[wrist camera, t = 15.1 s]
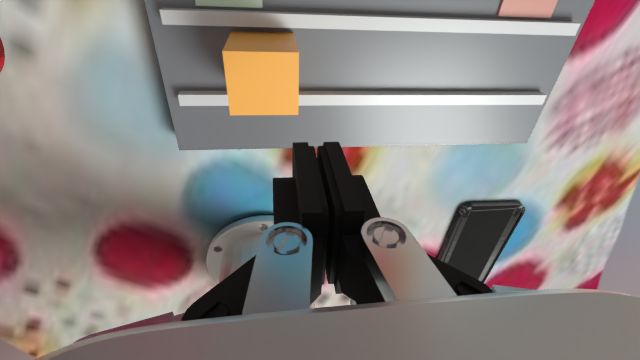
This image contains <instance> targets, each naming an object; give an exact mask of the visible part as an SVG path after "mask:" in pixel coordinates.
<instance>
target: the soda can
mask: <svg viewBox="0 0 640 360" xmlns="http://www.w3.org/2000/svg"><path fill="white" fill-rule="evenodd" d="M4 60H5V54H4V47H3V44H2V40H1V38H0V72H1V71H2V68H3V65H4Z"/></svg>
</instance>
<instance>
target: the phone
mask: <svg viewBox="0 0 640 360" xmlns="http://www.w3.org/2000/svg"><path fill="white" fill-rule="evenodd" d="M524 212H525V207H524V206H523V205H522V204H521V203H520V202H519V201H483V202H467V203H464V204H462V205H461V206H460V207H459V208H458V210H457V212H456V214H455V217H454V219H453V222H452V224H451V226H450V229H449V231H448V234H447V236H446V238H445V241H444V243H443V246H442V248H441V251H440V253H439V255H438V258H437V259H438V260H440V261H442V262H444V263H446V264H448V265H450V266H452V267H454V268H456V269H458V270H460V271H462V272H464V273H466V274H468V275H470V276H472V277H474V278H476V279H478V280H479V281H481V282H482V283H484V282H485V280H486V278H487V276H488V275H489V273H490V271H491V269H492V268H493V266H494V264H495V262H496V261H497V259H498V257H499V256H500V254H501V252H502V250H503V249H504V247H505V245H506V243H507V242H508V240H509V238H510V236H511V235H512V233H513V231H514V229H515V228H516V226H517V224H518V223H519V221H520V219H521V217H522V216H523V214H524Z"/></svg>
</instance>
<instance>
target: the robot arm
mask: <svg viewBox="0 0 640 360" xmlns="http://www.w3.org/2000/svg"><path fill="white" fill-rule="evenodd" d="M292 152H293V177H291V178H273V211H274V216H273V215H260V216H254V217H248V218H244V219H241V220H238V221H236V222H234V223H232V224H230V225H227V226H226V227H225V228H223V229H222V230H221V231H219V232H218V233H217V235H216V236H215V237H214V238H213V239H212V241H211V243H210V245H209V248H208V252H207V258H206V265H207V269H208V272H209V274H210V275H211V277H212V278H213V279H214V281H215V282H216V283H217V285H216V286H215V287H214V288H212V289H211V290H210V291H208V292H207V293H206V294H204V295H203V296H202V297H201V298H199V299H198V300H197V301H195V302H194V303H193V304H192V305H191V306H190V307H189V308H188V309H187V310H186V312H185V313H182V314H179V315H175V316H174V314H173V312H170V313H166V314H163V315H159V316H156V317H152V318H148V319H145V320H141V321H138V322H134V323H130V324H127V325H123V326H120V327H116V328H113V329H109V330H105V331H102V332H98V333H95V334H91V335H88V336H86V337H84V338H81V339H79V340H77V341H76V342H74V343H73V344H71V345H68V346H66V347H63V348H61V349H58V350H56V351H53V352H51V353H48V354H46V355H44V356H42V357H40V358H38V359H36V360H640V297H638V296H634V295H629V294H625V293H620V292H613V291H604V290H594V289H546V290H532V289H524V288H515V287H507V286H499V285H493V286H492V288H491V289H490V288H489V287H488V286H487V285H486V284H484V283H482V282H481V281H479V280H478V279H476V278H474V277H472V276H470V275H468V274H466V273H464V272H462V271H460V270H458V269H456V268H454V267H452V266H450V265H448V264H446V263H444V262H442V261H440V260H438V259H436V258H434V257H432V256H430V255H428V254H426V253H425V251H424V250H423V248H422V247H421V246H420V244H419V243H418V242H417V240H416V239H415V238H414V236H413V235H412V233H411V232H410V231H409V229H408V228H407V227H406V226H405V225H403V224H402V223H400V222H398V221H396V220H393V219H390V218H384V217H380V215H379V212H378V210H377V208H376V205H375V203H374V201H373V198H372V196H371V194H370V191H369V189H368V187H367V184H366V182H365V180H364V178H363V176H362V175H352V174H351V172H350V169H349V167H348V164H347V161H346V159H345V156H344V153H343V151H342V148H341V146H340V143H339V142H323V146H318V149H317V157H316V153H315V149H314V146H309V145H308V142H293V147H292ZM325 269H326V274H327V280H328V284H334V286H335V292H336V294H340V293H343V294H345V295H346V296H348V297H349V298H351V300H350V304H351V305H345V306H334V307H322V308H315V304H314V301H315V300H316V299H317V298H318V297H319V296H320V295H321V287H322V284H324V278H325Z"/></svg>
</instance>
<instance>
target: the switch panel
mask: <svg viewBox="0 0 640 360" xmlns="http://www.w3.org/2000/svg"><path fill="white" fill-rule="evenodd" d="M594 1H595V0H144V2H145V6H146V11H147V15H148V19H149V23H150V28H151V32H152V36H153V40H154V45H155V49H156V53H157V57H158V62H159V66H160V70H161V74H162V79H163V83H164V87H165V91H166V96H167V100H168V104H169V108H170V113H171V117H172V121H173V125H174V130H175V134H176V138H177V142H178V147H179V150H213V149H263V148H292V147H293V142H308V145H309V146H314V147H318V146H323V142H339V143H340V146H341V147H363V146H413V145H463V144H513V143H527V142H528V140H529V138H530V135H531V133H532V131H533V129H534V127H535V125H536V123H537V121H538V119H539V116H540V114H541V112H542V110H543V108H544V106H545V104H546V102H547V100H548V98H549V95H550V93H551V91H552V89H553V87H554V85H555V83H556V81H557V79H558V77H559V74H560V72H561V70H562V68H563V66H564V64H565V62H566V60H567V58H568V56H569V53H570V51H571V49H572V47H573V45H574V43H575V41H576V39H577V37H578V35H579V32H580V30H581V28H582V26H583V24H584V22H585V20H586V18H587V16H588V14H589V11H590V9H591V7H592V5H593V3H594ZM231 31H252V32H291V33H294V36H295V39H296V43H297V47H298V50H299V111H298V115H230V111H229V103H228V94H227V86H226V78H225V70H224V62H223V53H222V51H223V48H224V46H225V44H226V42H227V40H228V38H229V35H230V33H231Z"/></svg>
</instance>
